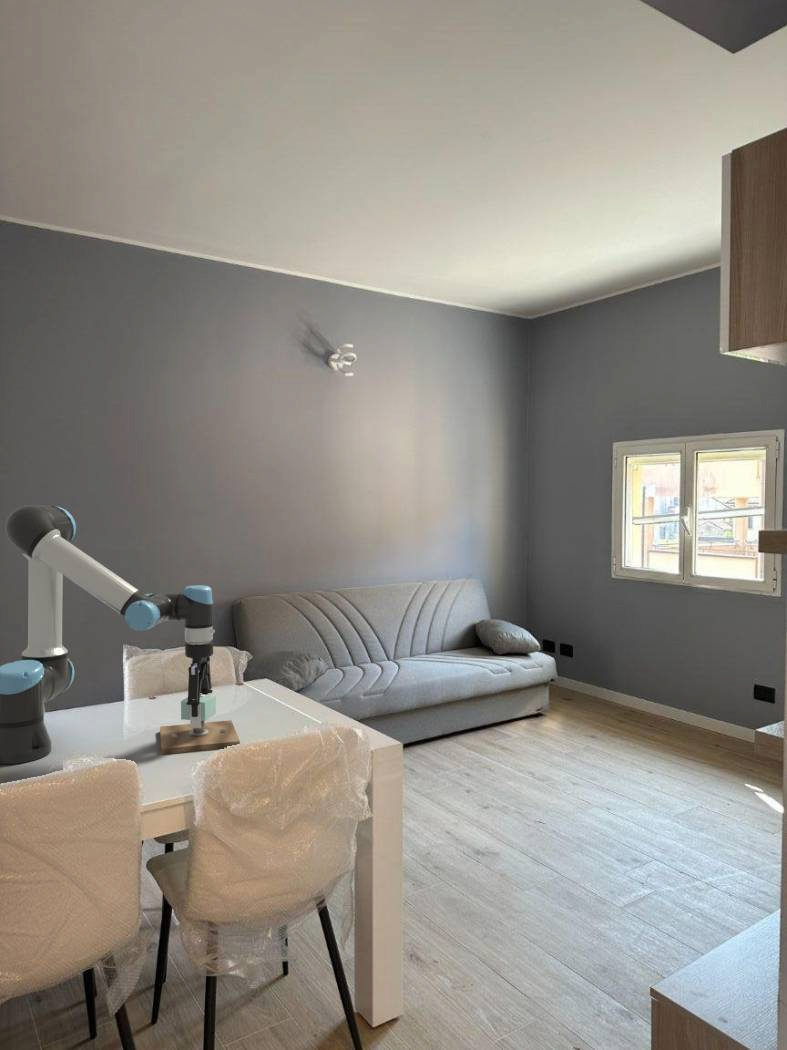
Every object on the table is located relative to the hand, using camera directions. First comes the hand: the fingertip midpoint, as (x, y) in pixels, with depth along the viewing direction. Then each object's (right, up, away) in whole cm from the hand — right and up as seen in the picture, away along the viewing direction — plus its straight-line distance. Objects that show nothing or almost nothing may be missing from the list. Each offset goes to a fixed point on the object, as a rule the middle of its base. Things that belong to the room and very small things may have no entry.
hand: (200, 722), depth 202 cm
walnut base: (0, -5, 0) cm, 5 cm away
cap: (0, +2, 0) cm, 2 cm away
